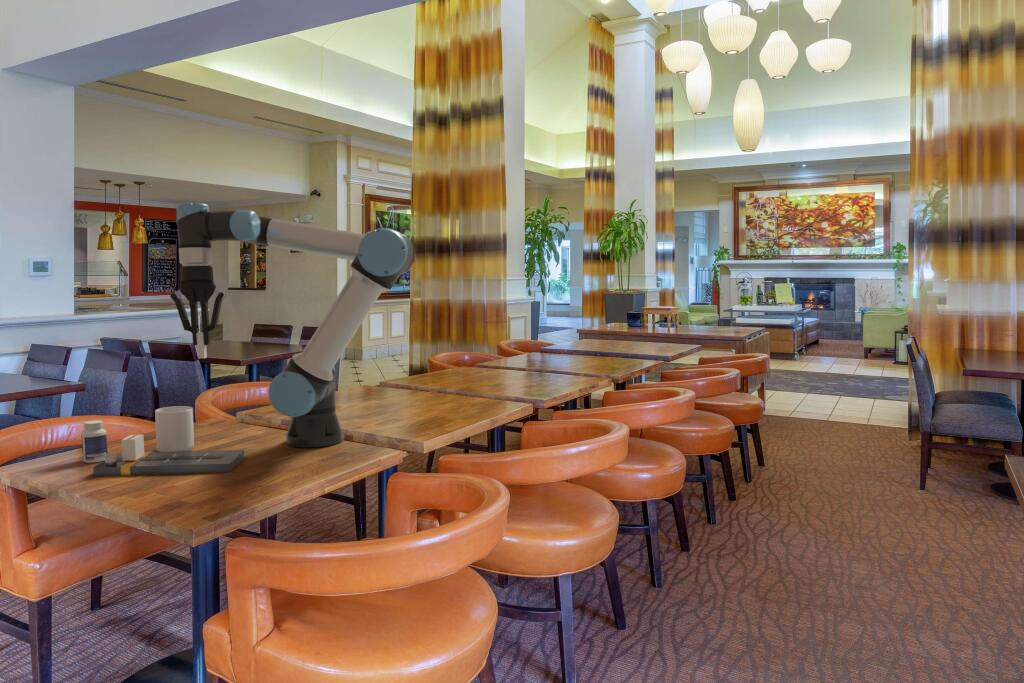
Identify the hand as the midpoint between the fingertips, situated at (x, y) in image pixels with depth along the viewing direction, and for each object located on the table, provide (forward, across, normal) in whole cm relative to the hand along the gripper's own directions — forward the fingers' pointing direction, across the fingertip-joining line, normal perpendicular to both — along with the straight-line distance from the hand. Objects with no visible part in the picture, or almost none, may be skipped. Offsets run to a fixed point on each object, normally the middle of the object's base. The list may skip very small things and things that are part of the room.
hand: (202, 357), depth 175 cm
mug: (+25, +10, -6) cm, 27 cm away
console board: (+25, +6, +12) cm, 28 cm away
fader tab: (+22, +14, +11) cm, 29 cm away
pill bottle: (+25, +26, +2) cm, 36 cm away
